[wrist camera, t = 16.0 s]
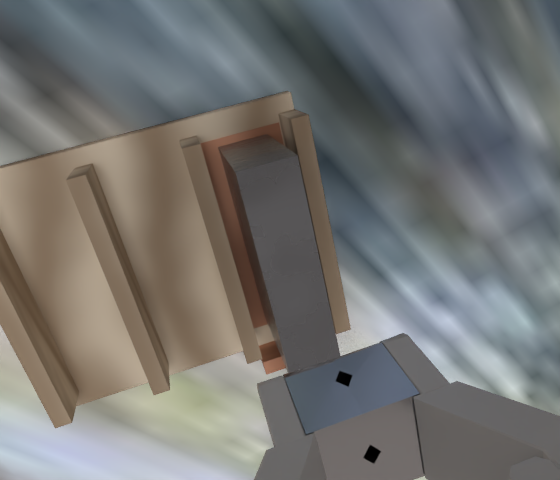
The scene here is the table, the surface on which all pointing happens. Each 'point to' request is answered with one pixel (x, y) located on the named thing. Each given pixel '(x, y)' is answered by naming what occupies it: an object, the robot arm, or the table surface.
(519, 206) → the table surface
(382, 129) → the table surface
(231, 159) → the blanking panel
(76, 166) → the rack
